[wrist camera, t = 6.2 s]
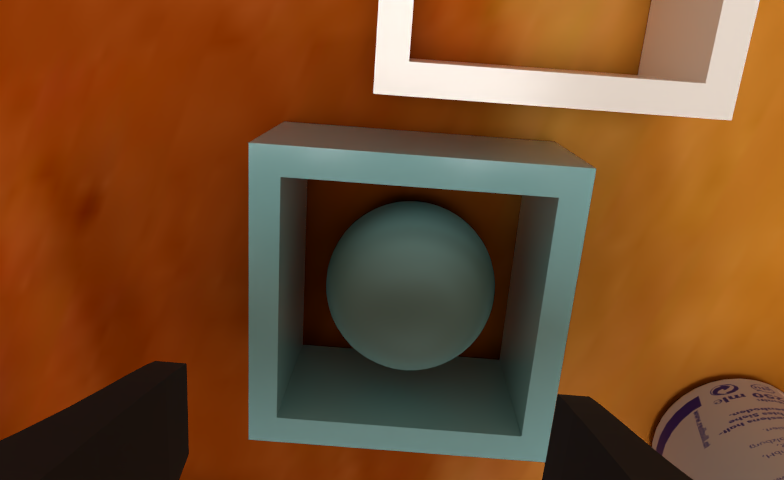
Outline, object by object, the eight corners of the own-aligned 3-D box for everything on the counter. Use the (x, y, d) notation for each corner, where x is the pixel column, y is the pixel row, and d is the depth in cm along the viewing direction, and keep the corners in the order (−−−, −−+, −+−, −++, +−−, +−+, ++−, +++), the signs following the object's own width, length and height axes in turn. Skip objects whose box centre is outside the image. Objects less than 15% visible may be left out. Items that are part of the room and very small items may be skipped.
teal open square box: (518, 381, 22) (545, 462, 18) (280, 362, 22) (248, 439, 18) (555, 141, 19) (596, 168, 15) (284, 121, 19) (248, 142, 15)
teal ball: (474, 329, 21) (496, 410, 17) (331, 320, 21) (313, 398, 17) (491, 190, 20) (520, 235, 15) (338, 179, 20) (319, 220, 15)
